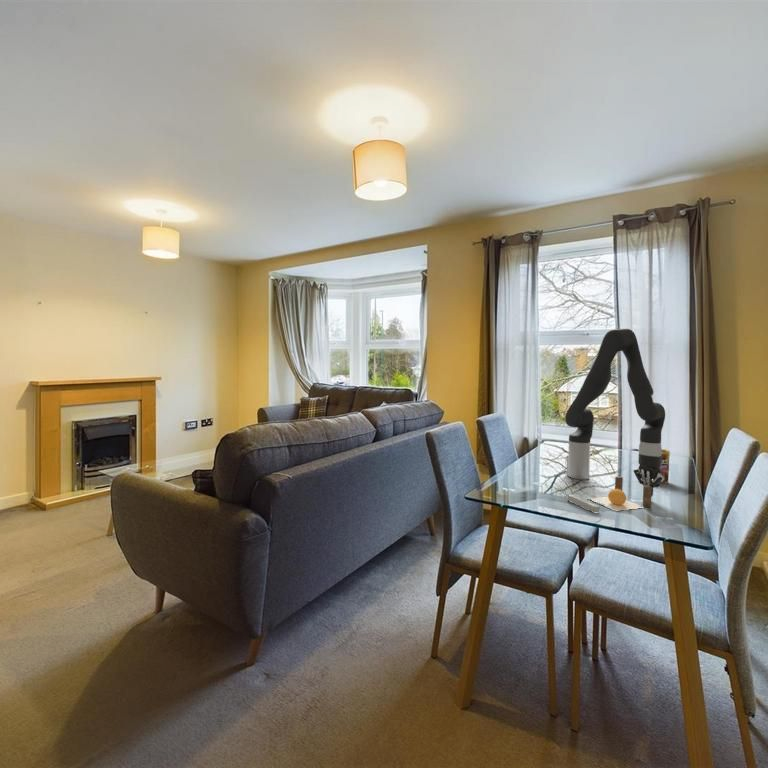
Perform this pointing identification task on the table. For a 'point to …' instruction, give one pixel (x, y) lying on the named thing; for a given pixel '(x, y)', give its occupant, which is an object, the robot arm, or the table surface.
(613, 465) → the table surface
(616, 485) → the post
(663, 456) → the candy box
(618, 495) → the ball
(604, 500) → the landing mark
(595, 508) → the wall
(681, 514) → the table surface
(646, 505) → the post
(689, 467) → the table surface
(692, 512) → the table surface
